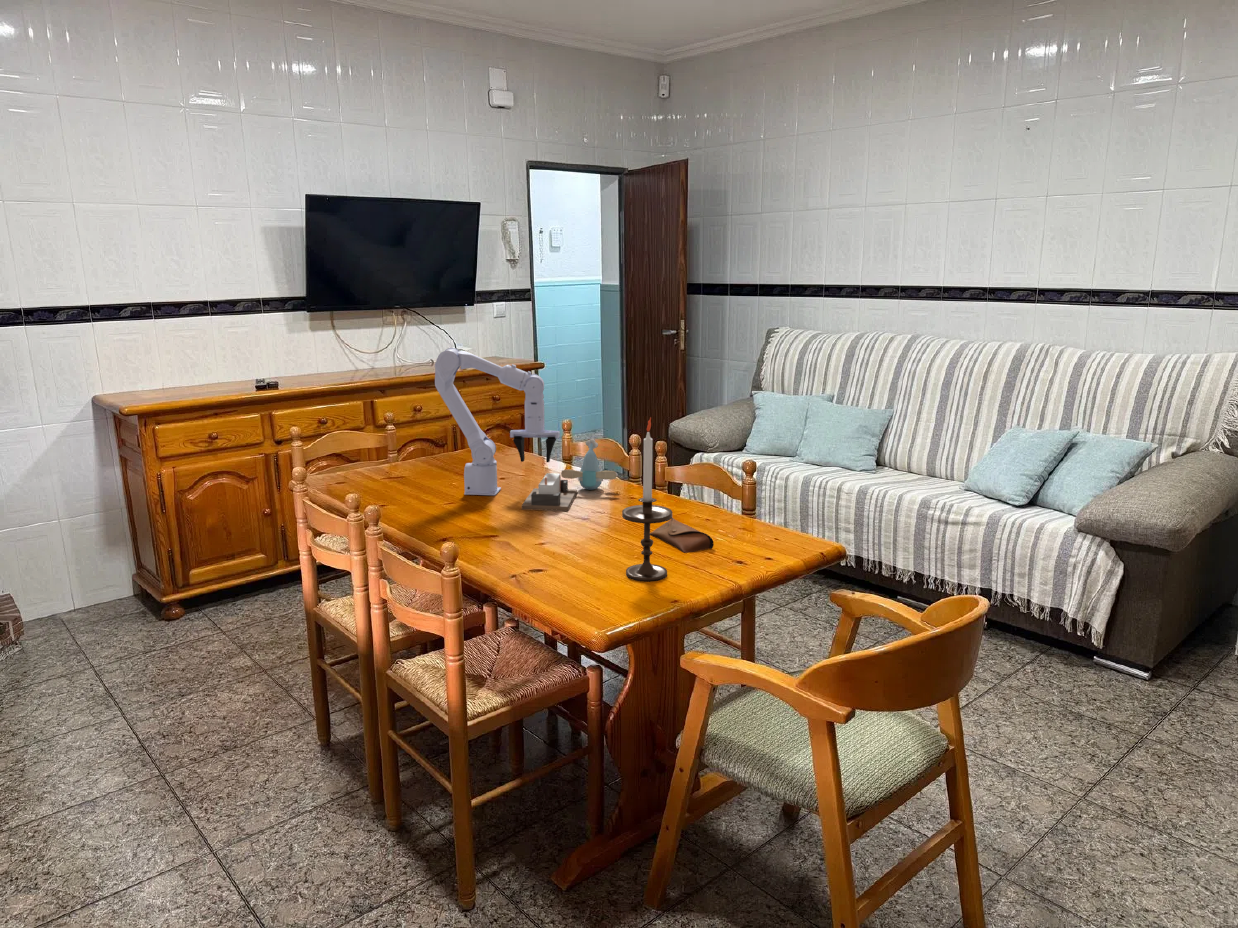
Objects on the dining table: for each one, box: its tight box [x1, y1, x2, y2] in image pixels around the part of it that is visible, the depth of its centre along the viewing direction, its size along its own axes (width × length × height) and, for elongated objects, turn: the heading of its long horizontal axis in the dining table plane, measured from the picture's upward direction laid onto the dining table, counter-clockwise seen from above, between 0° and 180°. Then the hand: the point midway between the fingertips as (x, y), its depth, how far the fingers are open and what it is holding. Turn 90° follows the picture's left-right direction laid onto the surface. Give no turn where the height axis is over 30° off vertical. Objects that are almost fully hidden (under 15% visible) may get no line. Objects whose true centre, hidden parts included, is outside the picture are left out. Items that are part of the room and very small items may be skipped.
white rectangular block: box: [537, 472, 562, 495], centre depth 246 cm, size 14×4×8 cm, turn 175°
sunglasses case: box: [650, 517, 714, 554], centre depth 213 cm, size 18×7×7 cm
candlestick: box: [621, 417, 673, 583], centre depth 185 cm, size 11×11×35 cm
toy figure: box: [560, 438, 619, 491], centre depth 260 cm, size 17×10×15 cm, turn 84°
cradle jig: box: [521, 479, 578, 512], centre depth 247 cm, size 19×13×4 cm
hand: (535, 461), depth 256 cm, fingers open, 7 cm apart
